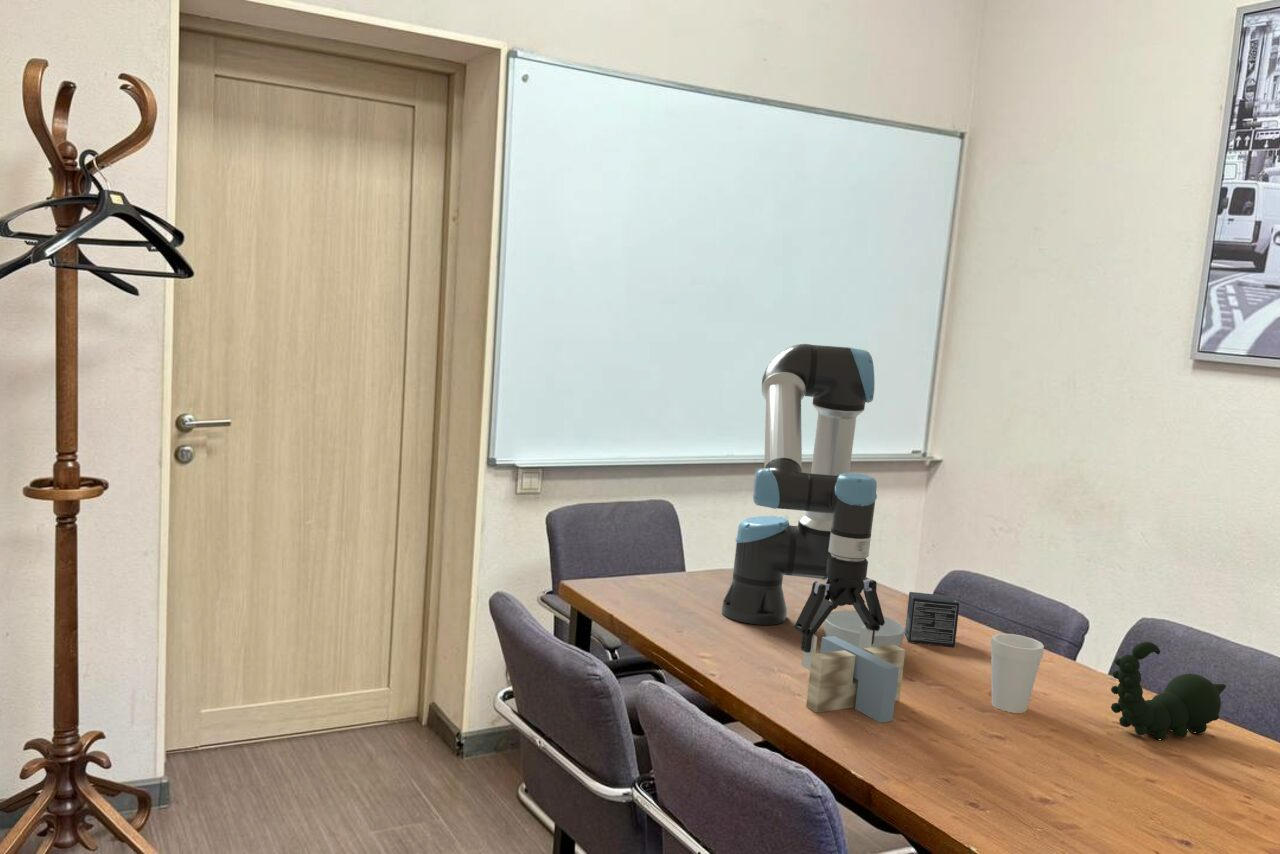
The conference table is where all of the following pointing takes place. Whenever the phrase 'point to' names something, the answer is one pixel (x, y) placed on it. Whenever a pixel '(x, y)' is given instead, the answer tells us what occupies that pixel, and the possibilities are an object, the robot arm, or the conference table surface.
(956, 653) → the conference table surface
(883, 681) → the blue-grey arch block
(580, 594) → the conference table surface
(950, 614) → the small box
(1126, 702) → the toy figurine
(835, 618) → the cereal bowl
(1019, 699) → the foam cup
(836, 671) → the notched birch block
